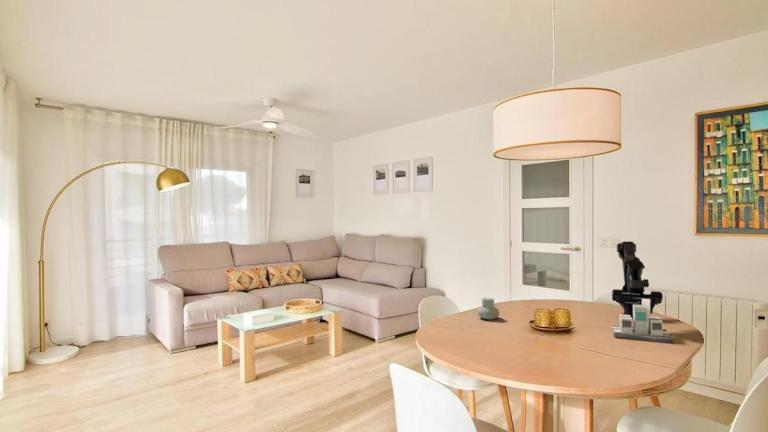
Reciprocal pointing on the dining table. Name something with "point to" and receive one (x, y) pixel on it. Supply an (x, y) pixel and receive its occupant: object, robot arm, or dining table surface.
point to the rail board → (654, 334)
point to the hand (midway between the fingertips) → (638, 312)
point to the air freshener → (488, 309)
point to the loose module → (640, 319)
